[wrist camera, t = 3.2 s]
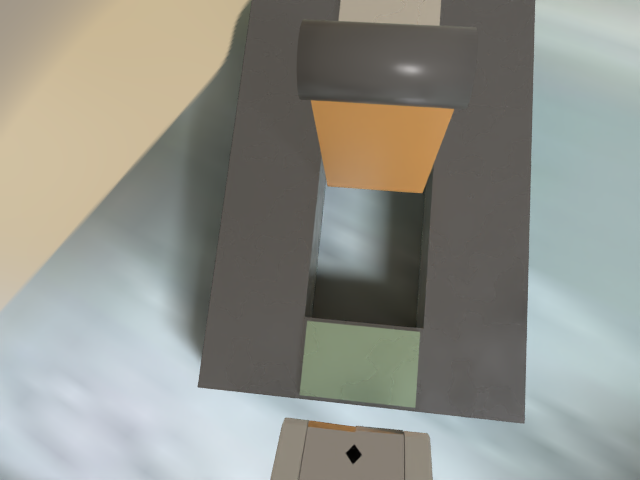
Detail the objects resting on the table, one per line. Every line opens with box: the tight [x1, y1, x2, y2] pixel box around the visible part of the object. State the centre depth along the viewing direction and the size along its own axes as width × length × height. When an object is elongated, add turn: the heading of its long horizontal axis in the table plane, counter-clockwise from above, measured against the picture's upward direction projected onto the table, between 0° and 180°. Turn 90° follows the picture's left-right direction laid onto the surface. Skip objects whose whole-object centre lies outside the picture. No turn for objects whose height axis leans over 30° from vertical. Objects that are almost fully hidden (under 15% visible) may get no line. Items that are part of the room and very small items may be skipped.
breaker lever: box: [297, 19, 478, 193], centre depth 23 cm, size 3×6×12 cm, turn 84°
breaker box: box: [198, 0, 535, 423], centre depth 31 cm, size 24×16×4 cm, turn 174°
